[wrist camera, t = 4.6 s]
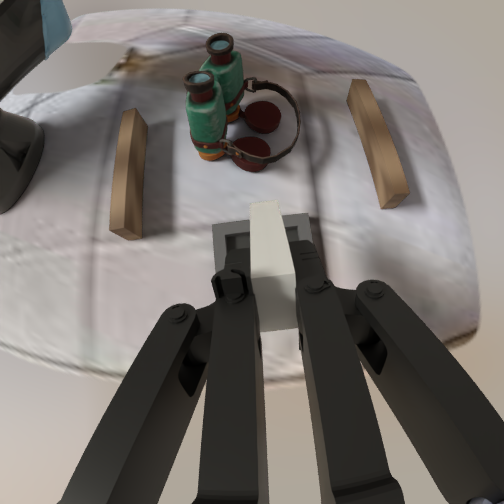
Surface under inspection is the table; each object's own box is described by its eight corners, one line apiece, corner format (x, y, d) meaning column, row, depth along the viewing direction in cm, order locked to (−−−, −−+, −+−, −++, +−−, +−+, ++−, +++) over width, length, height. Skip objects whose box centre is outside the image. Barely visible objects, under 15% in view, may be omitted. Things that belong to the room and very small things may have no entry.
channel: (394, 207, 24) (409, 193, 20) (128, 240, 25) (109, 230, 22) (358, 100, 26) (365, 79, 23) (135, 129, 28) (123, 111, 24)
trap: (320, 310, 22) (322, 310, 21) (222, 321, 23) (220, 322, 22) (306, 216, 24) (307, 212, 23) (214, 228, 25) (211, 224, 24)
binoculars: (305, 120, 15) (152, 93, 16) (284, 188, 26) (182, 164, 26) (322, 42, 17) (201, 23, 17) (301, 116, 27) (211, 97, 28)
